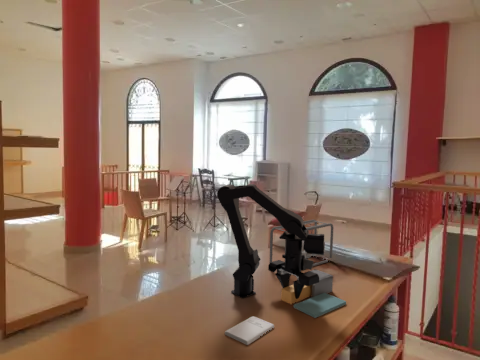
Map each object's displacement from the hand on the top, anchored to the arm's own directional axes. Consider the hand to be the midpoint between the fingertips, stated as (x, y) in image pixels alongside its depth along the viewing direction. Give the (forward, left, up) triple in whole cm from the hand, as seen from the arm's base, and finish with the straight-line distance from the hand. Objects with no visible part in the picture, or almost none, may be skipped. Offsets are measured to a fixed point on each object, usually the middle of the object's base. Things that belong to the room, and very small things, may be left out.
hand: (292, 296), depth 128 cm
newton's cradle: (+30, +23, -2) cm, 38 cm away
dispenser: (+12, 0, -1) cm, 12 cm away
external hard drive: (-25, -7, -2) cm, 26 cm away
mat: (+4, -9, -1) cm, 10 cm away
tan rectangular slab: (+3, 0, -1) cm, 4 cm away
